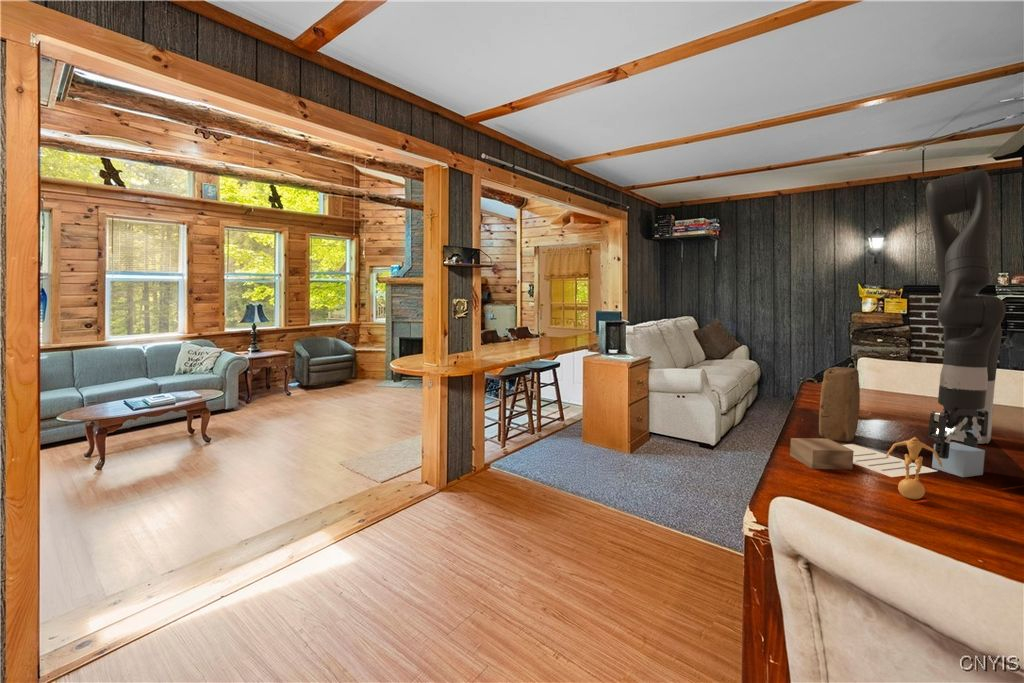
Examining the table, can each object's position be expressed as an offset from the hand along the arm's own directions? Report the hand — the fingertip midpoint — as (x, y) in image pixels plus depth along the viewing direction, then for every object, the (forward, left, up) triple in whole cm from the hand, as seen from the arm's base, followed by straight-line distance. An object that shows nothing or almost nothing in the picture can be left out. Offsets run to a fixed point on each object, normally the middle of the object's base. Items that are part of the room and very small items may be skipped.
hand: (955, 456), depth 103 cm
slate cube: (-1, 0, -4) cm, 4 cm away
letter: (+10, -11, -4) cm, 16 cm away
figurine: (+23, +7, -4) cm, 25 cm away
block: (+1, -27, -4) cm, 27 cm away
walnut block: (+24, -12, -4) cm, 27 cm away
